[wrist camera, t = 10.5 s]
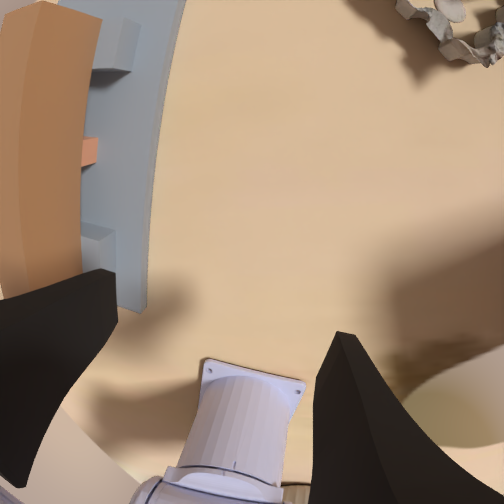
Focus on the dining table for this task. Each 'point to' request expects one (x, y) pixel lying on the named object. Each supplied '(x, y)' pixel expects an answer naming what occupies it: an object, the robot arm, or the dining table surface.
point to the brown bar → (42, 142)
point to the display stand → (124, 136)
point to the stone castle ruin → (451, 8)
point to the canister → (296, 494)
